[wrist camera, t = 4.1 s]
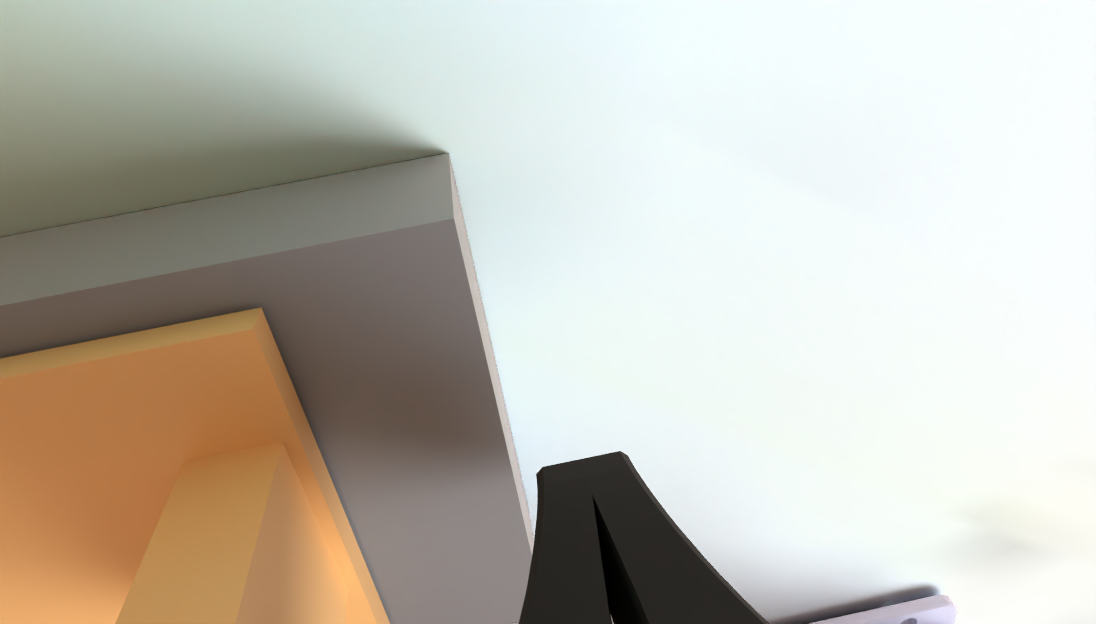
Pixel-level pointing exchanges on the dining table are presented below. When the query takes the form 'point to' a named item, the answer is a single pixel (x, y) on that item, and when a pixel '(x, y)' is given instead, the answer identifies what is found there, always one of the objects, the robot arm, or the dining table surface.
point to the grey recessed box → (330, 355)
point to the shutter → (170, 486)
